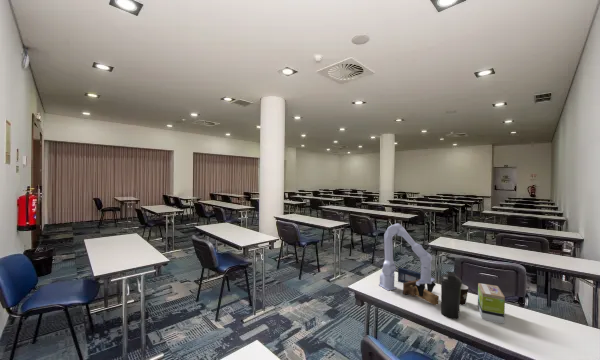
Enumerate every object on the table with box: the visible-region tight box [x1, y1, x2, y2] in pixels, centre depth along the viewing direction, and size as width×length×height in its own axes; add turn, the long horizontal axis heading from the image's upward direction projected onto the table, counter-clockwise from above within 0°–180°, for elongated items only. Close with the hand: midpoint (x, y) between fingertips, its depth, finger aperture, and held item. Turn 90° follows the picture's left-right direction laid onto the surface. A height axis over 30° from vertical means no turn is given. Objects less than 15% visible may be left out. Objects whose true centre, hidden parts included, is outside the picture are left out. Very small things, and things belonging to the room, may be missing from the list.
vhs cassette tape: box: [397, 266, 426, 290], centre depth 182 cm, size 18×3×10 cm, turn 43°
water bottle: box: [440, 271, 463, 320], centre depth 144 cm, size 10×10×23 cm
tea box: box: [477, 282, 506, 324], centre depth 145 cm, size 15×10×15 cm, turn 154°
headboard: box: [402, 279, 420, 297], centre depth 169 cm, size 5×15×7 cm, turn 115°
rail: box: [413, 286, 440, 306], centre depth 162 cm, size 16×3×5 cm, turn 25°
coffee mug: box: [460, 283, 469, 306], centre depth 159 cm, size 12×9×10 cm
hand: (425, 294), depth 162 cm, fingers open, 7 cm apart
